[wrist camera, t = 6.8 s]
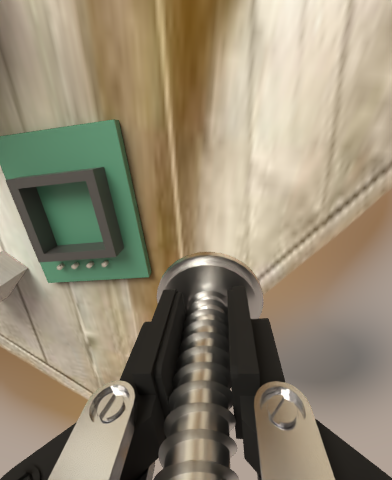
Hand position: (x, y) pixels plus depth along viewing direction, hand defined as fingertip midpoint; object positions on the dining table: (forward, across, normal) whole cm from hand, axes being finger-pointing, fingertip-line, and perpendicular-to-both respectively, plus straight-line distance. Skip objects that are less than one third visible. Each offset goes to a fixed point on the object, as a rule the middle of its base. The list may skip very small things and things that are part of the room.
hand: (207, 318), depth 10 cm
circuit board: (+19, +16, -1) cm, 25 cm away
